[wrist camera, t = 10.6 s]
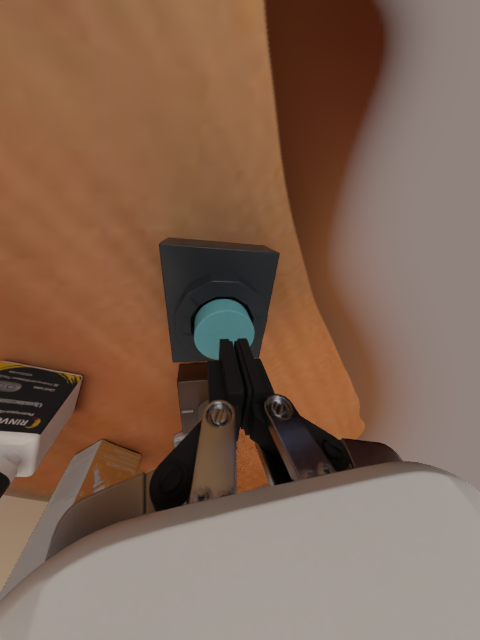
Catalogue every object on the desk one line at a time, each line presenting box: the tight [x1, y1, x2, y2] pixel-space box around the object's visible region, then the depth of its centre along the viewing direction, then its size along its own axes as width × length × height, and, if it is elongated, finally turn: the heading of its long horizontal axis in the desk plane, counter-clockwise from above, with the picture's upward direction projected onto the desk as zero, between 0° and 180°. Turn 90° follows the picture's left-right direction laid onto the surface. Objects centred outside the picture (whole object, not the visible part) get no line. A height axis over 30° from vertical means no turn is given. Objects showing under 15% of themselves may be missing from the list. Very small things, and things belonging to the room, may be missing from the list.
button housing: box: [159, 238, 280, 362], centre depth 17 cm, size 11×9×6 cm
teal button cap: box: [194, 299, 255, 360], centre depth 14 cm, size 4×4×2 cm
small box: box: [0, 439, 142, 601], centre depth 24 cm, size 8×6×13 cm
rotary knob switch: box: [177, 363, 208, 434], centre depth 25 cm, size 11×9×3 cm
